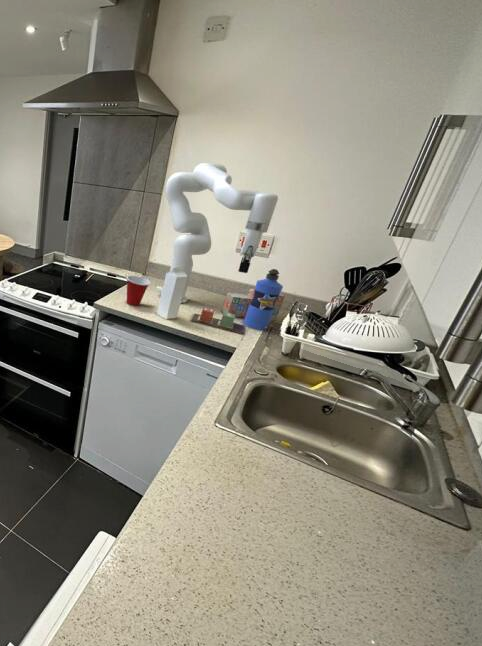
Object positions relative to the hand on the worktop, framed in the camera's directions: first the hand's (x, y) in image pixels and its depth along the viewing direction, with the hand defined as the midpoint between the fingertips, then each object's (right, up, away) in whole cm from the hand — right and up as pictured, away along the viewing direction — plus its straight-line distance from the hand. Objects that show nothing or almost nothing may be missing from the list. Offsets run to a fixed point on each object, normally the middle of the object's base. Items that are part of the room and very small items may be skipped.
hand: (243, 269), depth 157 cm
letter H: (-10, -20, +11) cm, 25 cm away
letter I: (-3, -22, +8) cm, 24 cm away
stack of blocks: (+15, -19, +22) cm, 32 cm away
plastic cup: (-37, -13, +25) cm, 46 cm away
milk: (-26, -19, +14) cm, 35 cm away
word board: (-5, -22, +9) cm, 25 cm away
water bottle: (+12, -23, +11) cm, 28 cm away
